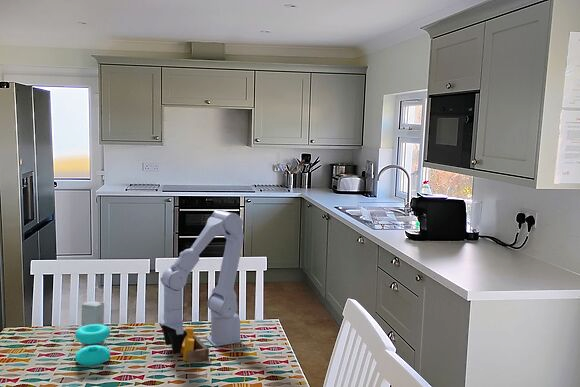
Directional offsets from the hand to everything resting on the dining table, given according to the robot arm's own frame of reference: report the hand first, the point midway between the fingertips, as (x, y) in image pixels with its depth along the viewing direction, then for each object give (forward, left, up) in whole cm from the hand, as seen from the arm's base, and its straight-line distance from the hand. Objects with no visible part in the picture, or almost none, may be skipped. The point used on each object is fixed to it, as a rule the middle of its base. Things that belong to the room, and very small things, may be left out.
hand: (172, 348), depth 173 cm
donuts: (+23, -5, -2) cm, 24 cm away
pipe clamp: (-3, +2, -1) cm, 4 cm away
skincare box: (+20, -23, -2) cm, 31 cm away
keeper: (-5, 0, -1) cm, 5 cm away
